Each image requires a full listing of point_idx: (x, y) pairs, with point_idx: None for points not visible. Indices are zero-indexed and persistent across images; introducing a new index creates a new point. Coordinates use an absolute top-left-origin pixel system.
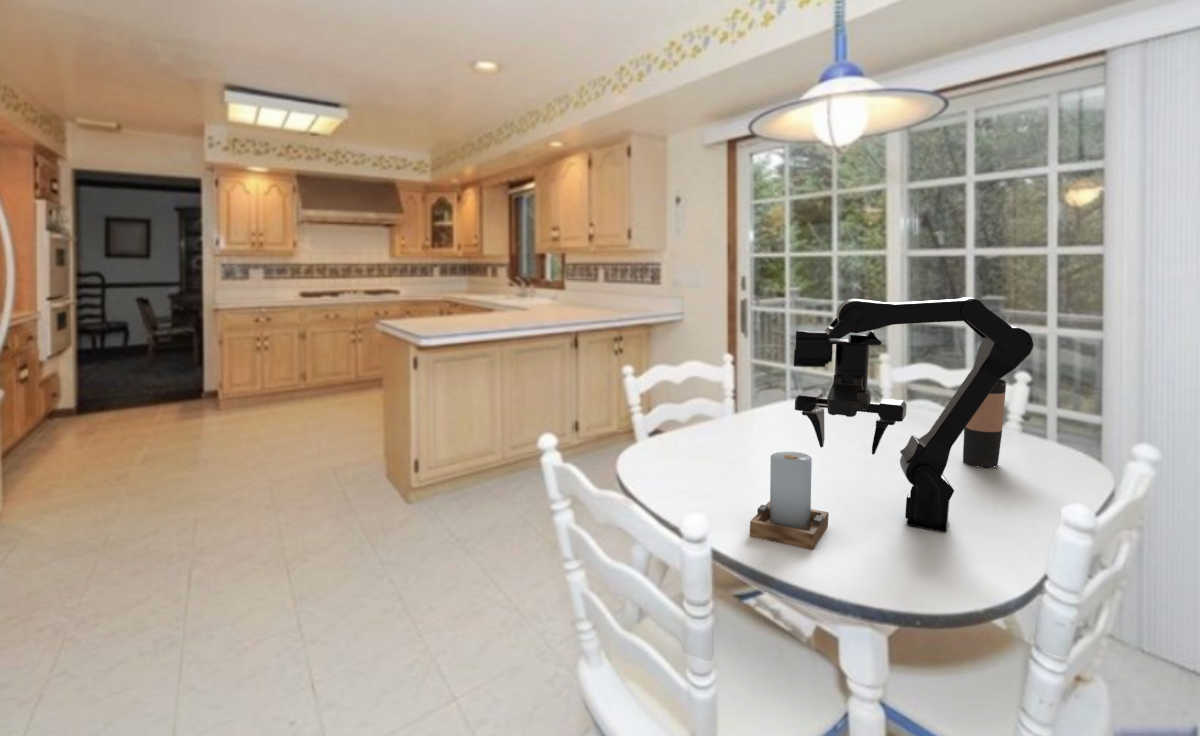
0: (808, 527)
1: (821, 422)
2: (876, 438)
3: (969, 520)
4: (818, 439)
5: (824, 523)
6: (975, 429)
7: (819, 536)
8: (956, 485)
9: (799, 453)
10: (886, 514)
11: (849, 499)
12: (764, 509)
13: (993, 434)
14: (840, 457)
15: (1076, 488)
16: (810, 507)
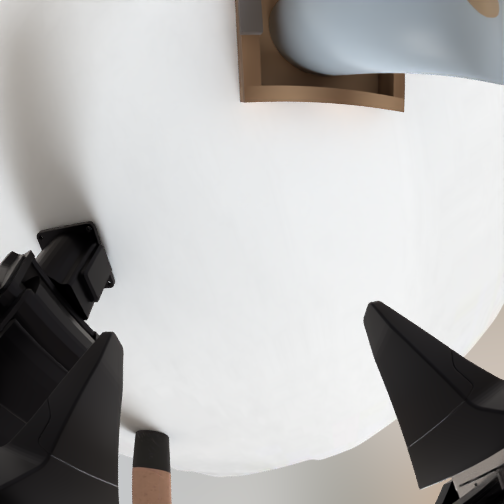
0: (271, 15)
1: (436, 417)
2: (60, 401)
3: None
4: (408, 322)
5: (240, 57)
6: (151, 469)
7: (236, 13)
8: (133, 396)
9: (473, 55)
10: (149, 256)
11: (243, 289)
12: None
13: (135, 464)
14: (298, 404)
15: None
16: (286, 13)
